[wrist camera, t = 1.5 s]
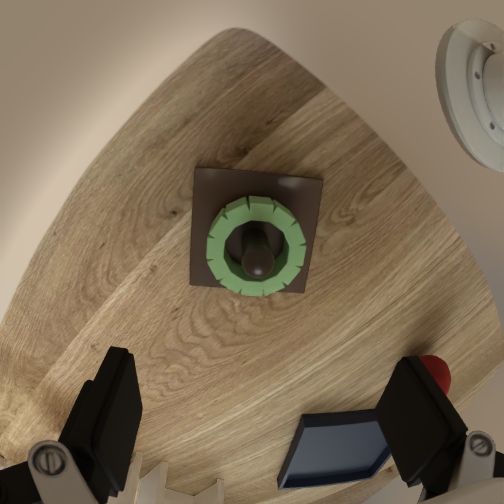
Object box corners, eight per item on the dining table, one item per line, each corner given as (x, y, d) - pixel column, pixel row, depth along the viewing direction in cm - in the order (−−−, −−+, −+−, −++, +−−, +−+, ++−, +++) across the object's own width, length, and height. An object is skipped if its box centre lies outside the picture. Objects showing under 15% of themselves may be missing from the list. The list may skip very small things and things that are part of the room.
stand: (322, 179, 24) (352, 196, 17) (303, 290, 28) (321, 337, 21) (195, 166, 23) (179, 178, 17) (190, 282, 27) (177, 329, 20)
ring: (305, 201, 23) (312, 208, 20) (292, 284, 25) (297, 298, 23) (212, 192, 22) (209, 199, 20) (207, 277, 24) (204, 292, 22)
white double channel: (68, 447, 37) (50, 495, 27) (77, 422, 34) (54, 479, 24) (195, 497, 43) (192, 544, 33) (223, 479, 40) (223, 535, 30)
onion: (392, 384, 33) (416, 430, 26) (393, 352, 31) (422, 401, 24) (431, 367, 33) (459, 409, 25) (435, 335, 31) (469, 377, 23)
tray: (416, 402, 35) (421, 413, 33) (369, 469, 42) (372, 478, 40) (302, 414, 34) (304, 427, 32) (276, 479, 41) (278, 489, 39)
